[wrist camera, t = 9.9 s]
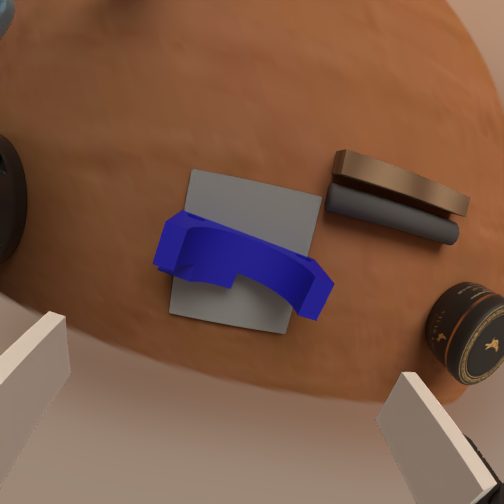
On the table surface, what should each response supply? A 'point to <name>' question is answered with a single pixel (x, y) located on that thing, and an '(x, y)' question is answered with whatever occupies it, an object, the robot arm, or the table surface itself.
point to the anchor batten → (399, 181)
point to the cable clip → (240, 261)
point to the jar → (468, 332)
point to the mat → (255, 224)
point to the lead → (389, 214)
